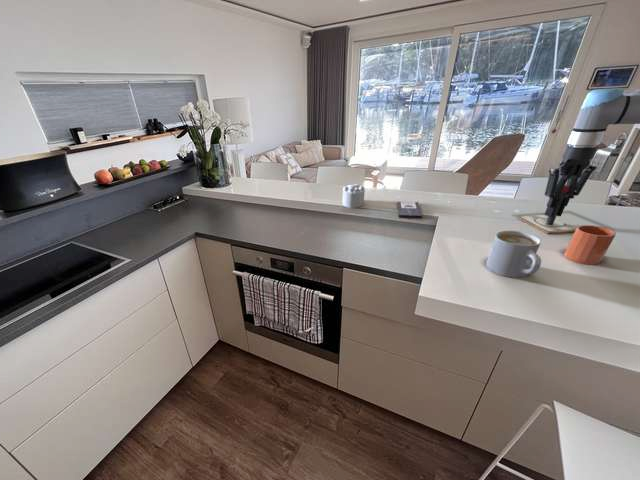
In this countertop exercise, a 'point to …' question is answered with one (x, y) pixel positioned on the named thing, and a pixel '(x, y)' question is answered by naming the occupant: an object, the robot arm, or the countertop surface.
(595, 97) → the robot arm
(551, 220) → the marker
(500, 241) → the coffee mug
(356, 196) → the lumpy-topped squat cylinder
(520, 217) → the sketch pad
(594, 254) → the pen cup
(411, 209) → the chocolate bar
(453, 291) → the countertop surface
